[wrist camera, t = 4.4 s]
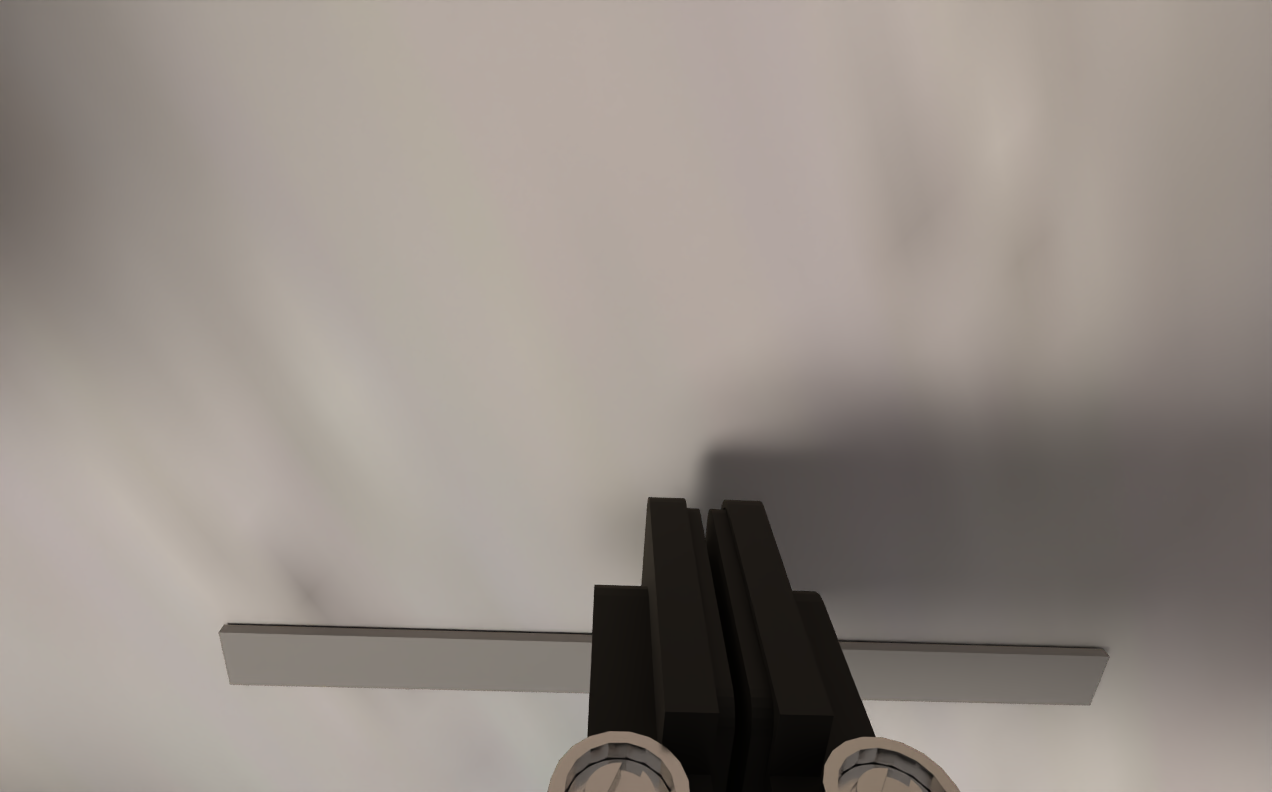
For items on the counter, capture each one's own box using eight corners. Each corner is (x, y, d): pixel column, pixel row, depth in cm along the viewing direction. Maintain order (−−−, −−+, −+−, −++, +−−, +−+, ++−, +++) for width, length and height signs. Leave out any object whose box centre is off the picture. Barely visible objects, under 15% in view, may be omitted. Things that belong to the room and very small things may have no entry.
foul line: (223, 624, 13) (218, 632, 13) (1102, 649, 14) (1109, 656, 14) (235, 676, 14) (230, 684, 13) (1083, 697, 14) (1090, 705, 14)
